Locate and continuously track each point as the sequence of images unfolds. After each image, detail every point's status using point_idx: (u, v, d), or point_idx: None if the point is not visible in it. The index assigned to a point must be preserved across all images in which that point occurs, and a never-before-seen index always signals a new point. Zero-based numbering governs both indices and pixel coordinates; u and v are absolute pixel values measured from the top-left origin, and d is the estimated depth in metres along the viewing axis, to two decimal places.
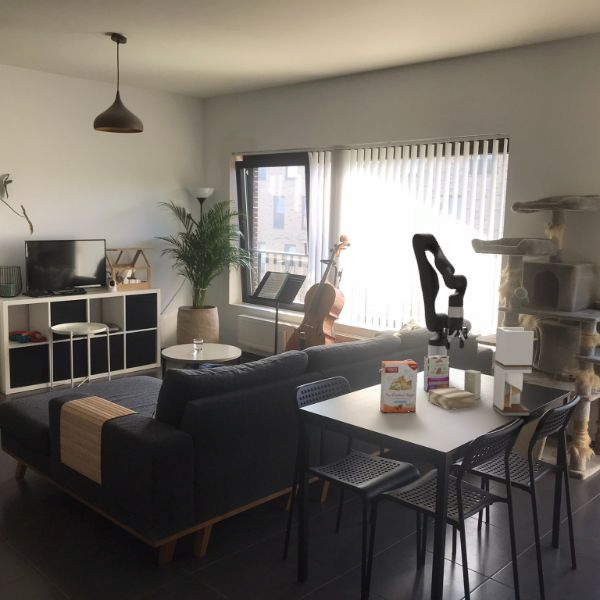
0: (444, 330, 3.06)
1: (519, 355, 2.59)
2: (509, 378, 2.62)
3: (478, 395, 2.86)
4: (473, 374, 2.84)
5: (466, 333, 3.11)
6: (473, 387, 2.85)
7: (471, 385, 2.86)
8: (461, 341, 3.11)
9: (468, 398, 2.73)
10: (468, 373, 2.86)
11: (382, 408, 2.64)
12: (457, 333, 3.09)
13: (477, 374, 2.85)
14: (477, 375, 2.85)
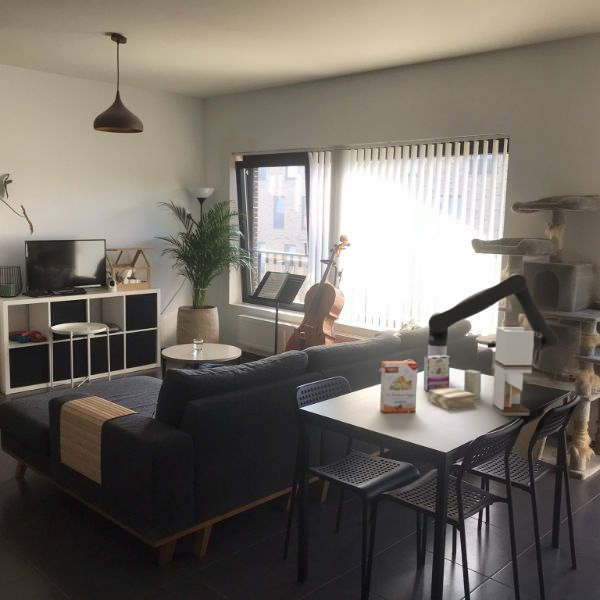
0: None
1: (519, 355, 2.59)
2: (509, 378, 2.62)
3: (478, 395, 2.86)
4: (473, 374, 2.84)
5: None
6: (473, 387, 2.85)
7: (471, 385, 2.86)
8: (494, 345, 2.96)
9: (468, 398, 2.73)
10: (468, 373, 2.86)
11: (382, 408, 2.64)
12: None
13: (477, 374, 2.85)
14: (477, 375, 2.85)
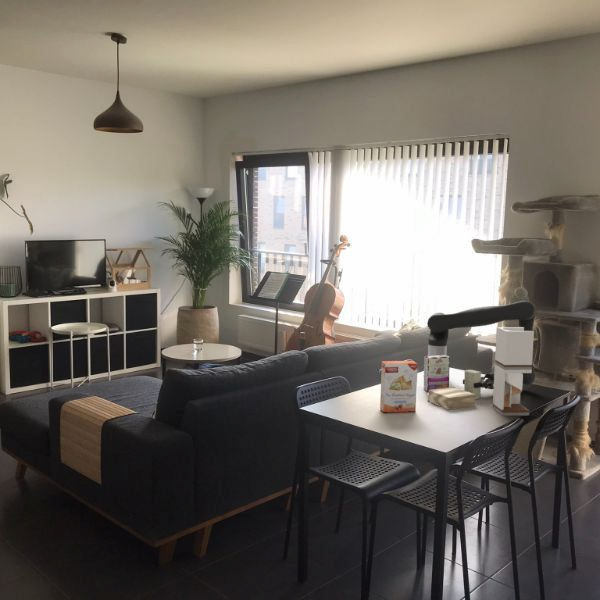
0: None
1: (519, 355, 2.59)
2: (509, 378, 2.62)
3: (478, 395, 2.86)
4: (473, 374, 2.84)
5: None
6: (473, 387, 2.85)
7: (471, 385, 2.86)
8: None
9: (468, 398, 2.73)
10: (468, 373, 2.86)
11: (382, 408, 2.64)
12: None
13: (477, 374, 2.85)
14: (477, 375, 2.85)
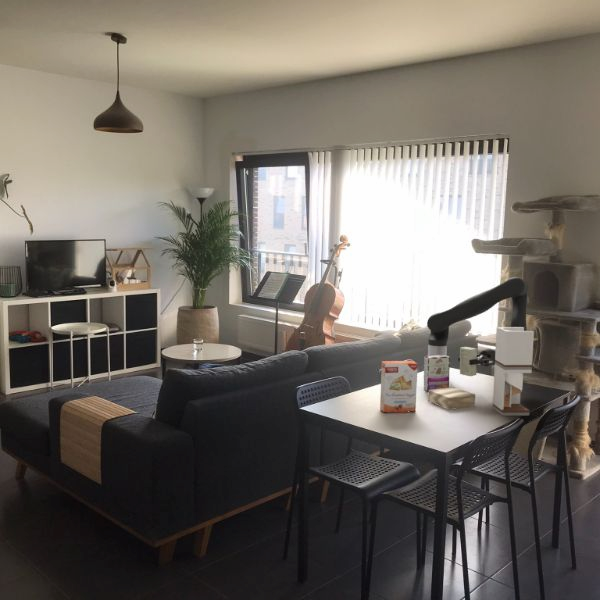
0: (491, 362, 2.81)
1: (519, 355, 2.59)
2: (509, 378, 2.62)
3: (474, 372, 2.82)
4: (469, 351, 2.80)
5: None
6: None
7: (466, 362, 2.81)
8: None
9: (468, 398, 2.73)
10: (464, 350, 2.82)
11: (382, 408, 2.64)
12: None
13: (473, 351, 2.80)
14: (473, 352, 2.80)
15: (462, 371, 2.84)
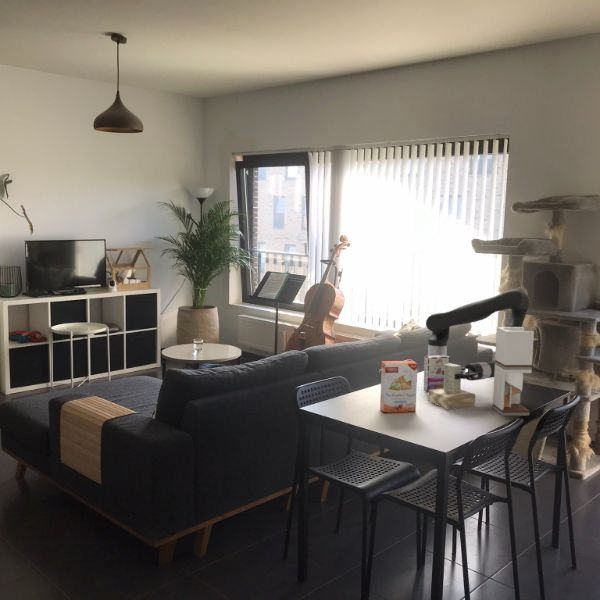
0: (476, 376, 2.74)
1: (519, 355, 2.59)
2: (509, 378, 2.62)
3: (458, 389, 2.76)
4: (452, 368, 2.74)
5: None
6: (452, 381, 2.75)
7: (450, 379, 2.75)
8: None
9: (468, 398, 2.73)
10: (448, 367, 2.76)
11: (382, 408, 2.64)
12: None
13: (457, 368, 2.74)
14: (457, 369, 2.74)
15: (446, 388, 2.78)
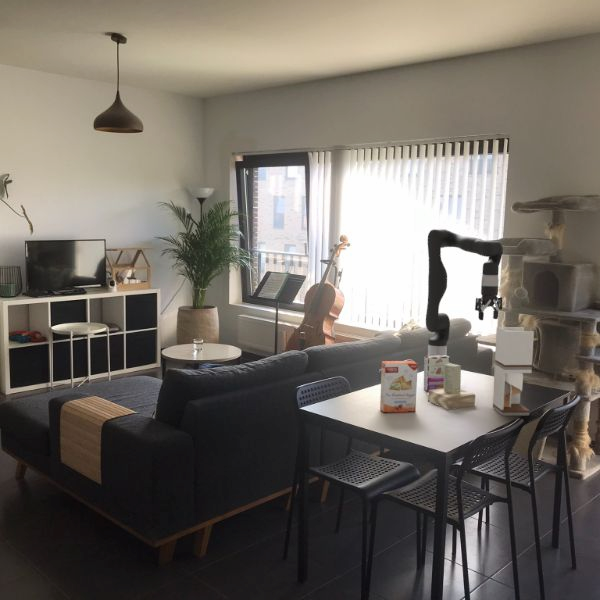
0: (477, 299, 2.91)
1: (519, 355, 2.59)
2: (509, 378, 2.62)
3: (458, 389, 2.76)
4: (452, 368, 2.74)
5: (501, 303, 2.96)
6: (452, 381, 2.75)
7: (450, 379, 2.75)
8: (495, 311, 2.97)
9: (468, 398, 2.73)
10: (448, 367, 2.76)
11: (382, 408, 2.64)
12: (491, 303, 2.94)
13: (457, 368, 2.74)
14: (457, 369, 2.74)
15: (446, 388, 2.78)
